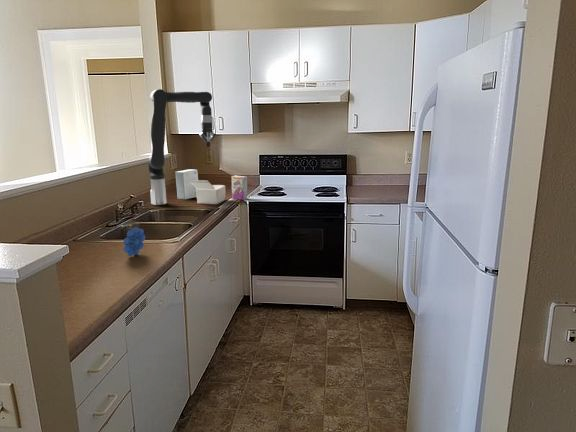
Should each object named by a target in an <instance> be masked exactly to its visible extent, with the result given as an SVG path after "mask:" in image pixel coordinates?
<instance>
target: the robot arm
mask: <svg viewBox="0 0 576 432" xmlns="http://www.w3.org/2000/svg"><path fill="white" fill-rule="evenodd" d="M150 100H151V101H152V102H153V113H152V116H151V121H150V140H151V144H152V145H151V146H152V148H151V150H152V151H151V155H150V156H149V157H148V161H147V163H148V173H149V178H150V191H149V193H150V204H151V205H154V206H161V205H166V204H167V192H166V179H165V177H166V175H165V173H164V166H165V142H166V141H165V140H166V108H167V103H188V104H189V103H199V105H200V114H201V115H200V116H201V117H200V119H201V120H200V122H201V123H200V125H201V132H200V133H199V134H198V135H199V137H200V138H201V140H202V141H203V142H205V147H206V148H210V147H211V141H213V140H214V138H215V136H216V133H214V130H213V128H214V127H213V116H212V115H213V114H212V107H211V106H210V102H212V100H213V96H212V94H211V92H209V91H176V92H175V91H174V92H173V91H172V92H169V91H165V90H164V89H161V88H157V89H155V90H153V91H152V92H151V93H150Z"/></svg>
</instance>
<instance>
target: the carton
mask: <svg viewBox="0 0 576 432" xmlns="http://www.w3.org/2000/svg"><path fill="white" fill-rule="evenodd" d="M211 185H212V186H213V187H214V188H215V189H196V197H195V198H196V202H197V203H196V204H198V205H199V204H200V205H201V204H202V205H218V204H221V203H222V202H224V201H226V185H224V184H223V185H222V184H211Z"/></svg>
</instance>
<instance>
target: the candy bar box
mask: <svg viewBox="0 0 576 432" xmlns="http://www.w3.org/2000/svg"><path fill="white" fill-rule="evenodd" d="M230 183H231V199H233V198H237V199H236V200H240V201H241V200H242V201H245V200H248V198H249V197H248V176H243V175H242V176H241V175H232V176H231V182H230Z"/></svg>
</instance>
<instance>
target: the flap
mask: <svg viewBox="0 0 576 432" xmlns="http://www.w3.org/2000/svg"><path fill="white" fill-rule="evenodd" d="M188 181H189V182H190V183H191V184H192V185H193V186H194V187H195V188H196V189H215V188H214V187H213V186H212V185H213V184H212V183H210V182H209V180H208V179H207V180H205V179H204V180H203V179H198V180H188Z"/></svg>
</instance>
